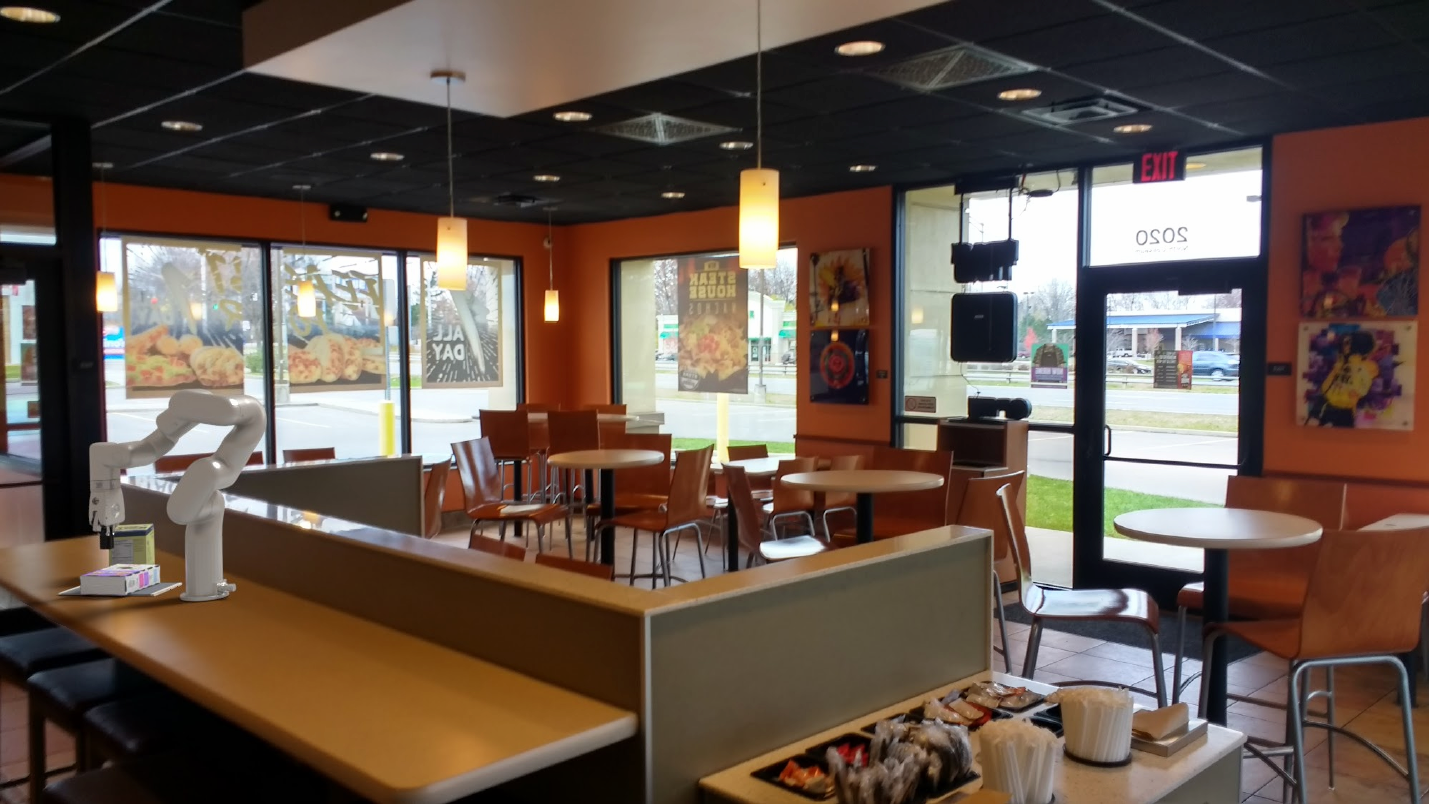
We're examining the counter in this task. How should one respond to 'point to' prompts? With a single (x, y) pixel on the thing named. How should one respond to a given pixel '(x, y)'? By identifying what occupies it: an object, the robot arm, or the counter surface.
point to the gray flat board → (147, 591)
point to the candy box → (119, 579)
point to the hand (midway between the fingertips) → (107, 548)
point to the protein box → (133, 545)
